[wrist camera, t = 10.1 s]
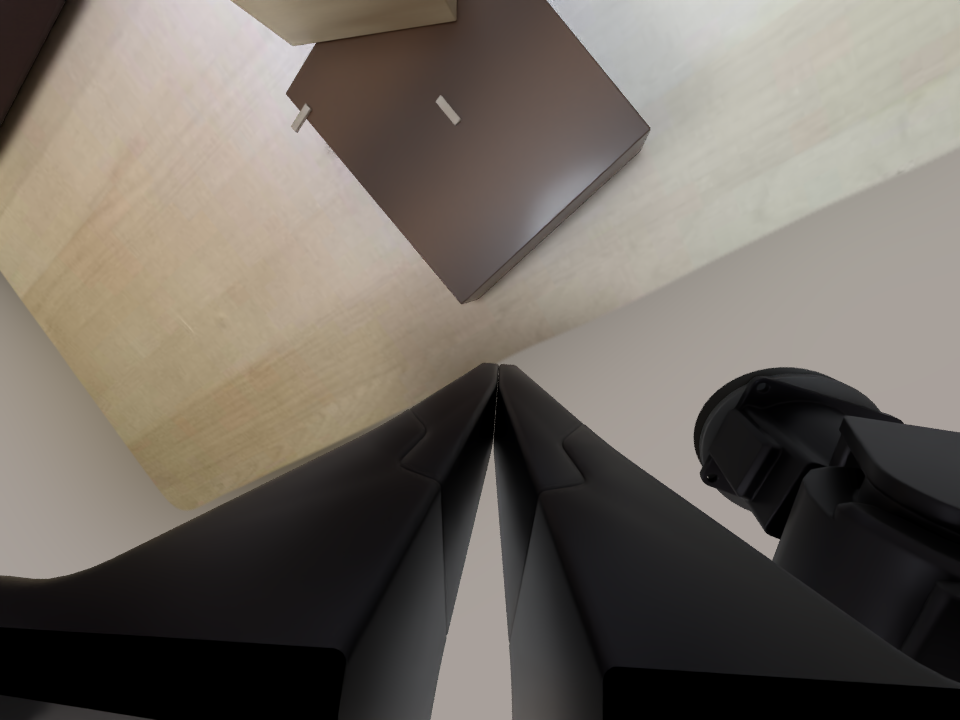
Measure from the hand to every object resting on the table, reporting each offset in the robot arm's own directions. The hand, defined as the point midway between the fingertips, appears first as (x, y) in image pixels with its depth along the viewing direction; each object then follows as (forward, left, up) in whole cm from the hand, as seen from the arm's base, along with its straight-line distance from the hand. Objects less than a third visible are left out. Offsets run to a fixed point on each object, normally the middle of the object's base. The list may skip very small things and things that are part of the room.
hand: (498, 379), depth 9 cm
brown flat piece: (+9, -9, -12) cm, 18 cm away
